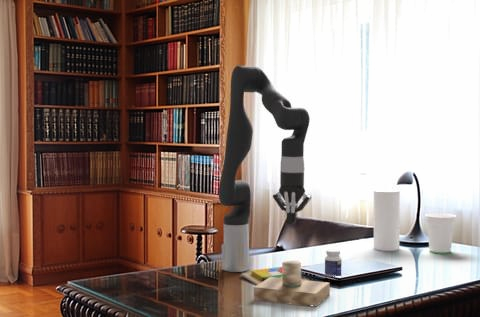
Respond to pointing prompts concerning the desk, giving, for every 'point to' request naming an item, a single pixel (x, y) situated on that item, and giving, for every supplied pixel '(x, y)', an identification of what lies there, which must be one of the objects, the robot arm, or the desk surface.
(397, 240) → the tall pillar cylinder
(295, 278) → the maple peg
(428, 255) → the desk surface
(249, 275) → the wooden puzzle
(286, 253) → the desk surface
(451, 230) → the cup
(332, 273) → the pill bottle
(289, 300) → the oak board
